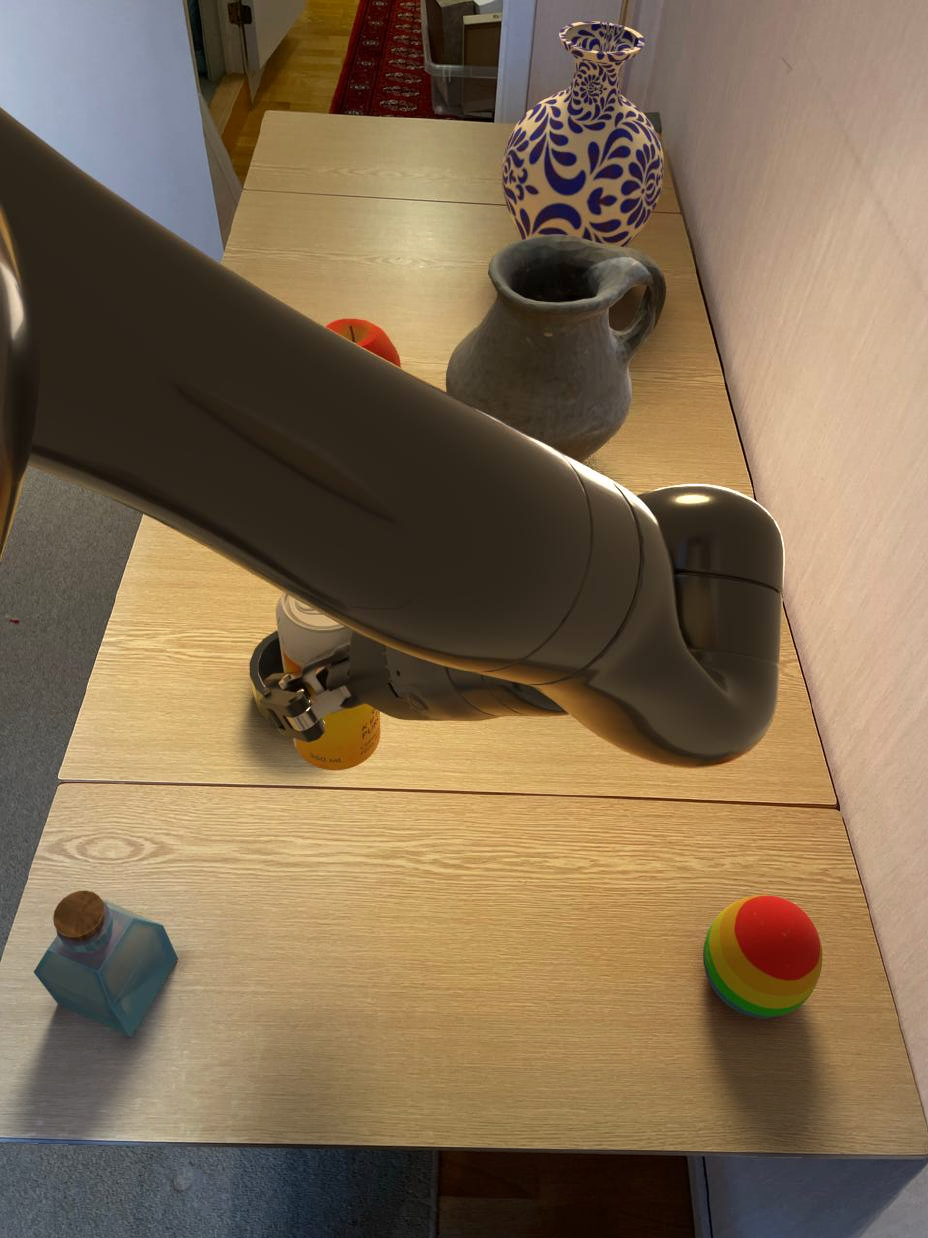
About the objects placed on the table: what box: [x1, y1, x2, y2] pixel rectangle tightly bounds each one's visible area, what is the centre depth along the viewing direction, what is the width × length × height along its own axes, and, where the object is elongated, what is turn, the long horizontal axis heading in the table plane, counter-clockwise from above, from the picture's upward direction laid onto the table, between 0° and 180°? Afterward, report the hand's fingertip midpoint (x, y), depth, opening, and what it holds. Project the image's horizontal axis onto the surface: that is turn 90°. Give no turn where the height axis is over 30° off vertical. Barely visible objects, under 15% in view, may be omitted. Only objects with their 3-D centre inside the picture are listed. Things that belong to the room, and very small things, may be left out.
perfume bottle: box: [33, 889, 179, 1038], centre depth 68 cm, size 6×6×12 cm
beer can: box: [275, 591, 381, 771], centre depth 64 cm, size 6×6×15 cm
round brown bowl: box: [248, 629, 284, 728], centre depth 89 cm, size 9×9×4 cm
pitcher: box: [445, 234, 667, 464], centre depth 104 cm, size 21×22×25 cm
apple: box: [324, 318, 402, 368], centre depth 114 cm, size 11×11×11 cm
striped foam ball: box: [702, 894, 823, 1019], centre depth 71 cm, size 8×8×10 cm
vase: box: [501, 20, 665, 247], centre depth 130 cm, size 22×22×30 cm
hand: (314, 662), depth 65 cm, fingers closed on beer can, 6 cm apart
